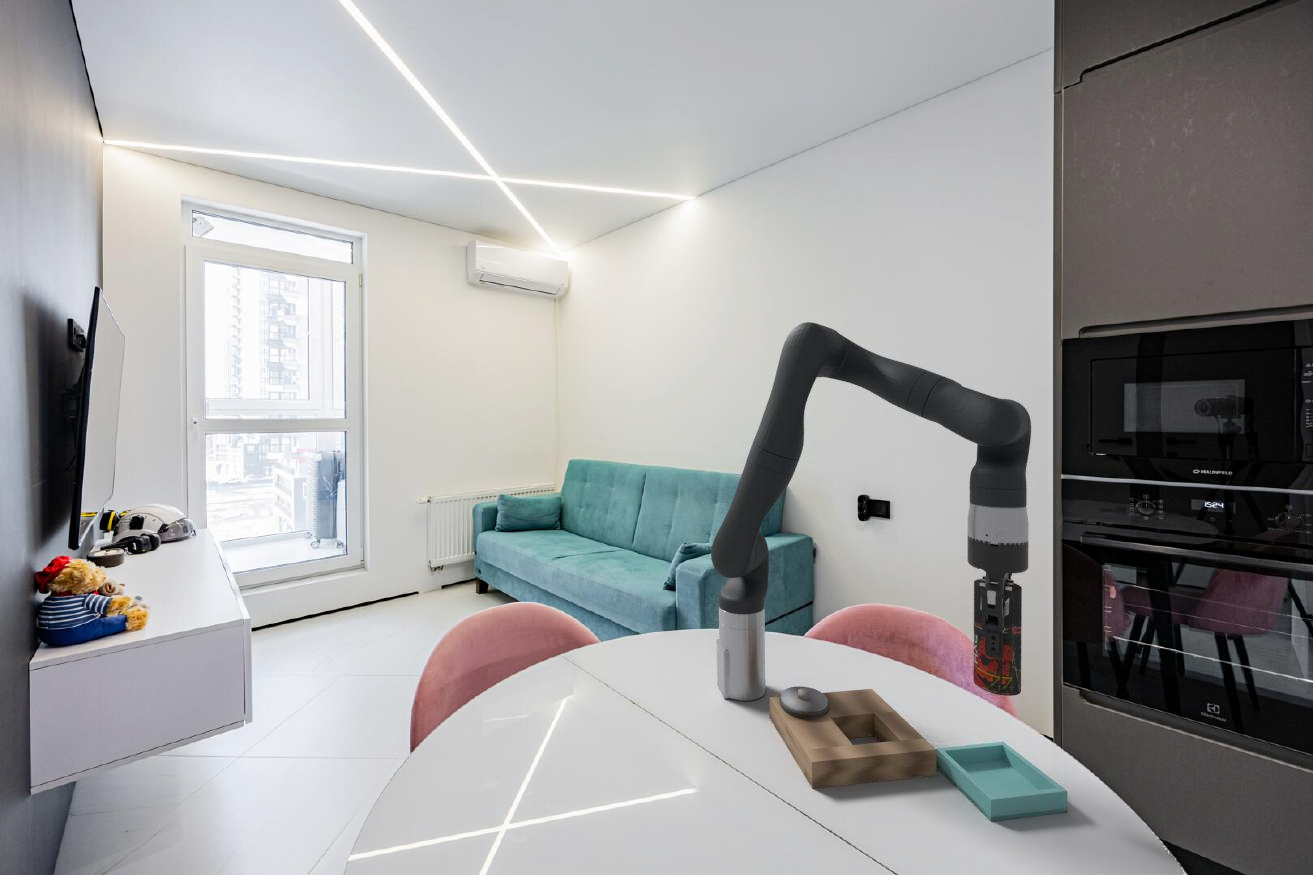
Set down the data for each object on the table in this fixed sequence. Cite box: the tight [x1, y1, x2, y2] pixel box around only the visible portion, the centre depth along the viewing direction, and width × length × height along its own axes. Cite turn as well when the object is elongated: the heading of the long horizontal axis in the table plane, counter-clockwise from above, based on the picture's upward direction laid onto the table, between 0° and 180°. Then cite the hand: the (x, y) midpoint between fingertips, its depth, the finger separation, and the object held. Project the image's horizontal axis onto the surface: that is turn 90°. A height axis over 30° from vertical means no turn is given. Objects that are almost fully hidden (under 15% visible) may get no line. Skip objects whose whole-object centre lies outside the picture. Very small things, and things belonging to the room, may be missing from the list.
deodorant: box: [973, 578, 1023, 697], centre depth 79 cm, size 6×6×15 cm
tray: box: [935, 741, 1068, 822], centre depth 79 cm, size 12×12×3 cm
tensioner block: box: [769, 686, 937, 789], centre depth 91 cm, size 20×19×7 cm
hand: (996, 648), depth 79 cm, fingers closed on deodorant, 6 cm apart
